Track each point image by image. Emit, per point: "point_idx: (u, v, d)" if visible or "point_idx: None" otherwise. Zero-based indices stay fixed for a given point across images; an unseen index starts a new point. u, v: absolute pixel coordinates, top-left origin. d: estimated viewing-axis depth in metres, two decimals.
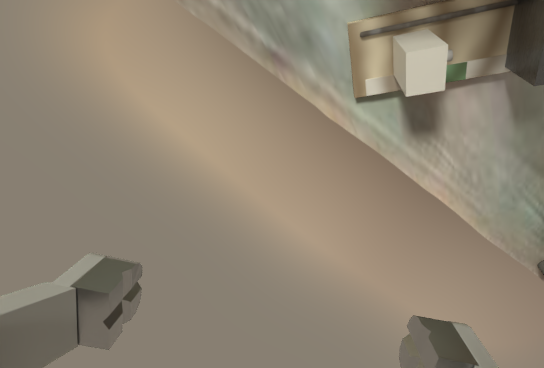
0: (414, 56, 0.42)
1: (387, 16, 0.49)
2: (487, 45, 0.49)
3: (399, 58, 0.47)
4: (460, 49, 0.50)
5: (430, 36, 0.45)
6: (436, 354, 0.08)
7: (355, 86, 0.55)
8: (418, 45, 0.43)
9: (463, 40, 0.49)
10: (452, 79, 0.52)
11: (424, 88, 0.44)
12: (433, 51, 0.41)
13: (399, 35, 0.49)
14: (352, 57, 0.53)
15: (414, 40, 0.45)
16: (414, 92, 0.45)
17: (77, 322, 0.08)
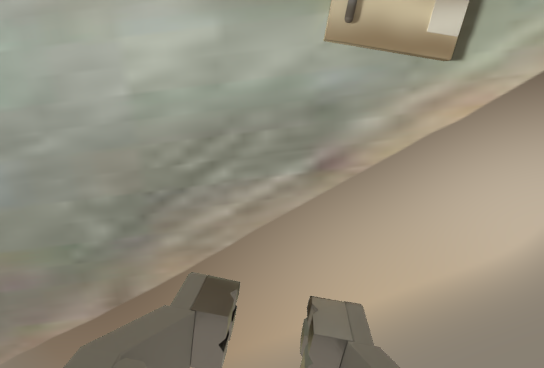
0: None
1: None
2: None
3: None
4: None
5: None
6: (313, 330, 0.08)
7: (430, 52, 0.30)
8: None
9: None
10: None
11: None
12: None
13: None
14: (378, 45, 0.30)
15: None
16: None
17: (192, 345, 0.08)
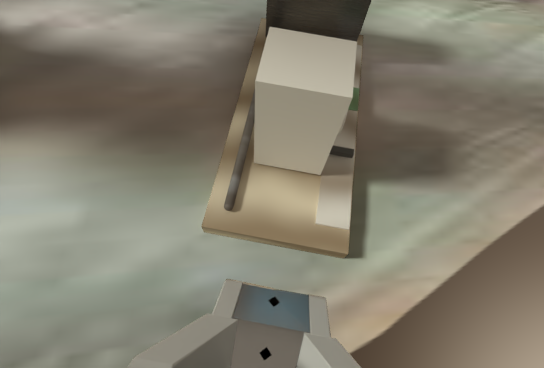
0: (268, 70, 0.20)
1: (220, 165, 0.29)
2: None
3: (280, 130, 0.24)
4: None
5: None
6: (271, 322, 0.08)
7: (323, 245, 0.26)
8: None
9: None
10: (355, 102, 0.32)
11: (342, 67, 0.21)
12: (272, 44, 0.21)
13: None
14: (263, 235, 0.26)
15: None
16: (345, 83, 0.20)
17: (233, 353, 0.08)
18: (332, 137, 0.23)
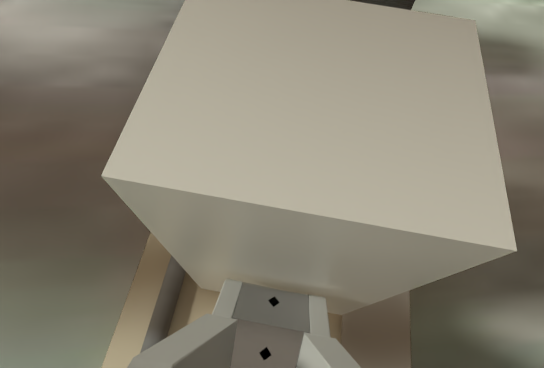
0: (168, 126, 0.05)
1: (130, 297, 0.14)
2: None
3: (241, 269, 0.09)
4: None
5: None
6: (271, 322, 0.08)
7: None
8: None
9: None
10: None
11: (448, 109, 0.06)
12: (195, 30, 0.06)
13: None
14: None
15: None
16: (473, 177, 0.05)
17: (233, 353, 0.08)
18: (386, 293, 0.08)
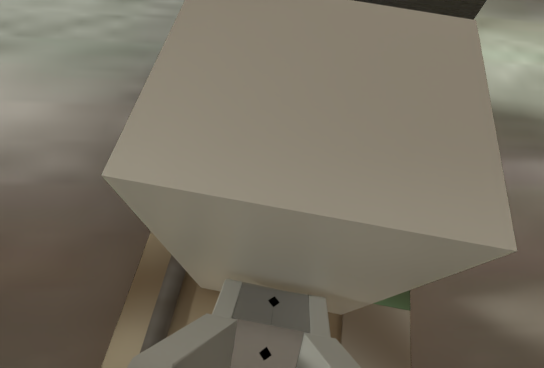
0: (168, 126, 0.05)
1: None
2: None
3: (241, 268, 0.09)
4: None
5: None
6: (271, 322, 0.08)
7: None
8: None
9: None
10: None
11: (448, 109, 0.06)
12: (195, 30, 0.06)
13: None
14: None
15: None
16: (473, 177, 0.05)
17: (233, 353, 0.08)
18: (386, 293, 0.08)
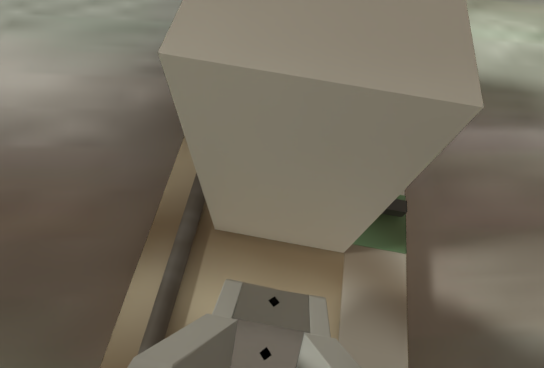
0: (207, 22, 0.06)
1: None
2: None
3: (257, 183, 0.10)
4: None
5: None
6: (271, 322, 0.08)
7: None
8: None
9: None
10: (399, 230, 0.15)
11: (433, 15, 0.07)
12: None
13: None
14: None
15: None
16: (451, 60, 0.06)
17: (233, 353, 0.08)
18: (383, 201, 0.10)
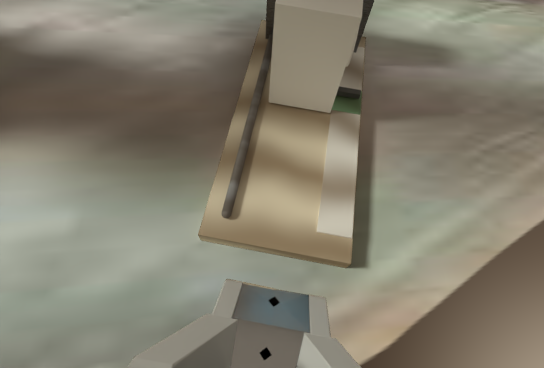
0: None
1: (218, 170, 0.28)
2: None
3: (295, 61, 0.26)
4: None
5: None
6: (271, 322, 0.08)
7: (325, 254, 0.25)
8: None
9: None
10: (357, 105, 0.31)
11: None
12: None
13: None
14: (262, 243, 0.25)
15: None
16: (355, 6, 0.22)
17: (233, 353, 0.08)
18: (342, 66, 0.26)
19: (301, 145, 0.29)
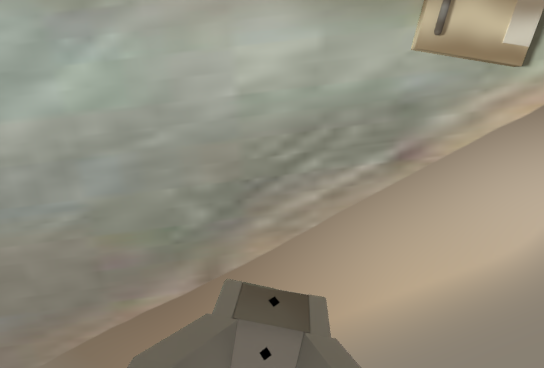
0: None
1: None
2: None
3: None
4: None
5: None
6: (271, 322, 0.08)
7: (504, 60, 0.36)
8: None
9: None
10: None
11: None
12: None
13: None
14: (460, 53, 0.36)
15: None
16: None
17: (233, 353, 0.08)
18: None
19: None
